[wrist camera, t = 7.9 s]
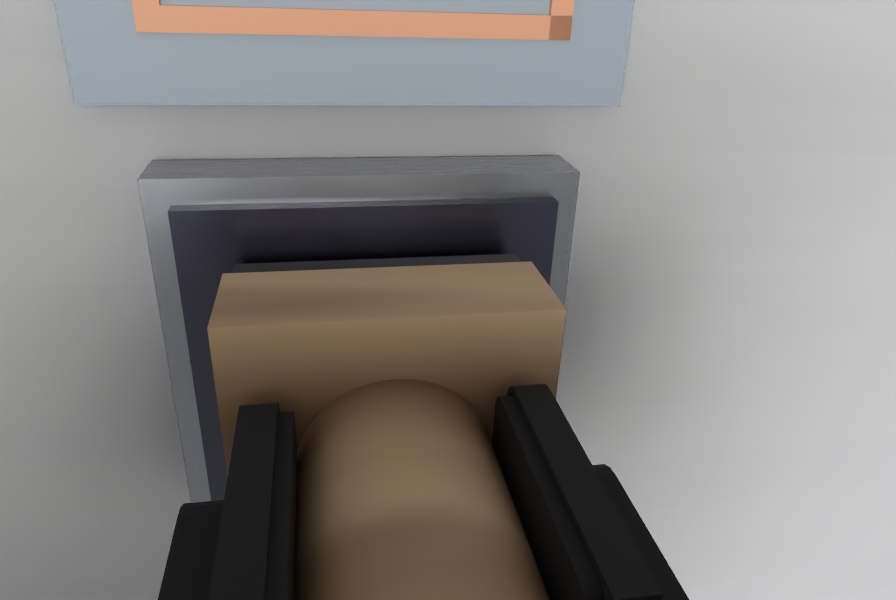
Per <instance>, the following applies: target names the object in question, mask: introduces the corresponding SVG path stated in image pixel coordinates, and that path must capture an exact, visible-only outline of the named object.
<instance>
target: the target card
mask: <svg viewBox="0 0 896 600" xmlns="http://www.w3.org/2000/svg"><path fill="white" fill-rule="evenodd" d="M634 2H635V0H54V5H55V10H56V15H57V20H58V25H59V30H60V35H61V40H62V45H63V50H64V55H65V60H66V65H67V70H68V75H69V80H70V85H71V90H72V95H73V100H74V105H203V106H620V102H621V95H622V88H623V80H624V73H625V66H626V59H627V52H628V45H629V38H630V30H631V23H632V16H633V9H634Z"/></svg>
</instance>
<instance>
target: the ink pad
mask: <svg viewBox="0 0 896 600" xmlns="http://www.w3.org/2000/svg"><path fill="white" fill-rule="evenodd" d="M579 175H580V172H579V171H578V170H577V169H575V168H574V167H573V166H571V165H570V164H569V163H568V162H566V161H565V160H564V159H562V158H561V157H560V156H558V155H557V156H472V157H387V158H302V159H218V160H152V161H151V163H150V164H149V165H148V166H147V168H146V169H145V170H144V171H143V173H142V174H141V175H140V177H139V178H138V179H137V180H138V186H139V192H140V198H141V204H142V210H143V216H144V222H145V228H146V234H147V240H148V246H149V252H150V258H151V264H152V270H153V276H154V282H155V288H156V294H157V300H158V306H159V312H160V318H161V324H162V330H163V336H164V342H165V348H166V354H167V360H168V366H169V372H170V378H171V384H172V390H173V396H174V402H175V408H176V414H177V420H178V426H179V432H180V438H181V444H182V450H183V456H184V462H185V468H186V474H187V480H188V486H189V491H190V497H191V503H195V502H206V501H216V500H224V497H225V490H226V484H227V478H228V477H227V470H226V463H225V455H224V448H223V441H222V433H221V426H220V418H219V411H218V404H217V396H216V389H215V382H214V374H213V367H212V359H211V352H210V345H209V337H208V330H207V327H208V324H209V320H210V316H211V313H212V309H213V306H214V302H215V299H216V295H217V292H218V288H219V284H220V281H221V277H222V274H223V273H232V269H233V265H234V264H250V263H278V262H305V261H332V260H359V259H386V258H413V257H440V256H468V255H495V254H516V255H517V256H518V257H519V259H520V260H521V262H530V261H532V263H533V264H534V266H535V267H536V268H537V270H538V271H539V272H540V274H541V275H542V276H543V278H544V279H545V281H546V282H547V283H548V285H549V286H550V287H551V289H552V290H553V292H554V293H555V294H556V296H557V297H558V298H559V300H560V301H561V302H562V304H563V305H564V300H565V292H566V283H567V275H568V267H569V258H570V250H571V242H572V233H573V225H574V217H575V208H576V200H577V192H578V183H579Z"/></svg>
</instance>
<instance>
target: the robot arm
mask: <svg viewBox="0 0 896 600" xmlns="http://www.w3.org/2000/svg"><path fill="white" fill-rule="evenodd" d="M492 446H493V449H494V451H495V454H496V457H497V459H498V462H499V465H500V467H501V470H502V473H503V475H504V478H505V481H506V483H507V486H508V489H509V491H510V494H511V497H512V499H513V502H514V505H515V507H516V510H517V513H518V515H519V518H520V521H521V523H522V526H523V529H524V531H525V534H526V537H527V540H528V542H529V545H530V548H531V550H532V553H533V556H534V558H535V561H536V564H537V566H538V569H539V572H540V574H541V577H542V580H543V582H544V585H545V588H546V590H547V593H548V596H549V598H550V600H689V599H688V597H687V595H686V594H685V592H684V590H683V589H682V587H681V585H680V583H679V582H678V580H677V578H676V577H675V575H674V573H673V572H672V570H671V568H670V567H669V565H668V563H667V561H666V560H665V558H664V556H663V555H662V553H661V551H660V550H659V548H658V546H657V544H656V543H655V541H654V539H653V538H652V536H651V534H650V533H649V531H648V529H647V528H646V526H645V524H644V522H643V521H642V519H641V517H640V516H639V514H638V512H637V511H636V509H635V507H634V506H633V504H632V502H631V500H630V499H629V497H628V495H627V494H626V492H625V490H624V489H623V487H622V485H621V484H620V482H619V480H618V478H617V477H616V475H615V474H614V472H613V471H612V470H611V468H610V467H608V466H607V465H605V464H601V465H592V464H591V462H590V460H589V459H588V457H587V455H586V453H585V451H584V450H583V448H582V446H581V444H580V442H579V441H578V439H577V437H576V435H575V433H574V432H573V430H572V428H571V426H570V424H569V423H568V421H567V419H566V417H565V415H564V414H563V412H562V410H561V408H560V406H559V405H558V403H557V401H556V399H555V397H554V396H553V394H552V392H551V390H550V388H549V387H548V386H547V385H546V384H532V385H518V386H510V387H509V388H508V391H507V396H498V397H497V399H496V402H495V413H494V426H493V439H492ZM297 491H298V453H297V440H296V427H295V415H294V411H293V412H280V407H279V403H265V404H251V405H240V406H239V409H238V415H237V421H236V428H235V434H234V440H233V446H232V453H231V459H230V465H229V471H228V478H227V484H226V490H225V497H224V500H216V501H206V502H195V503H184V504H183V505H182V506H181V508H180V511H179V514H178V518H177V522H176V526H175V530H174V534H173V539H172V543H171V547H170V551H169V555H168V560H167V564H166V568H165V572H164V576H163V581H162V585H161V589H160V593H159V597H158V600H295V573H296V532H297Z"/></svg>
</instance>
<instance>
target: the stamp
mask: <svg viewBox="0 0 896 600" xmlns="http://www.w3.org/2000/svg"><path fill="white" fill-rule="evenodd" d="M566 310H567V309H566V308H565V307H564V305H563V304H562V302H561V301H560V300H559V298H558V297H557V296H556V294H555V293H554V292H553V290H552V289H551V287H550V286H549V285H548V283H547V282H546V281H545V279H544V278H543V276H542V275H541V274H540V272H539V271H538V270H537V268H536V267H535V266H534V264H533V263H532V261H530V262H521V260H520V259H519V257H518V256H517V255H516V254H495V255H468V256H440V257H413V258H386V259H359V260H332V261H305V262H278V263H250V264H234V265H233V269H232V273H223V274H222V277H221V281H220V284H219V288H218V292H217V295H216V299H215V302H214V306H213V309H212V313H211V316H210V320H209V324H208V327H207V330H208V337H209V345H210V352H211V359H212V367H213V374H214V382H215V389H216V396H217V404H218V411H219V418H220V426H221V433H222V441H223V448H224V455H225V463H226V470H227V477H228V471H229V465H230V459H231V453H232V446H233V440H234V434H235V428H236V421H237V415H238V409H239V406H240V405H251V404H265V403H279V407H280V412H293V411H294V415H295V427H296V440H297V453H298V491H297V532H296V573H295V600H550V598H549V596H548V593H547V590H546V588H545V585H544V582H543V580H542V577H541V574H540V572H539V569H538V566H537V564H536V561H535V558H534V556H533V553H532V550H531V548H530V545H529V542H528V540H527V537H526V534H525V531H524V529H523V526H522V523H521V521H520V518H519V515H518V513H517V510H516V507H515V505H514V502H513V499H512V497H511V494H510V491H509V489H508V486H507V483H506V481H505V478H504V475H503V473H502V470H501V467H500V465H499V462H498V459H497V457H496V454H495V451H494V449H493V446H492V439H493V426H494V413H495V402H496V399H497V397H498V396H507V391H508V388H509V387H510V386H518V385H532V384H546V385H547V386H548V387H549V388H550V390H551V392H552V394H553V396H554V397H555V399H556V392H557V383H558V375H559V367H560V359H561V351H562V343H563V335H564V326H565V318H566Z"/></svg>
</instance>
